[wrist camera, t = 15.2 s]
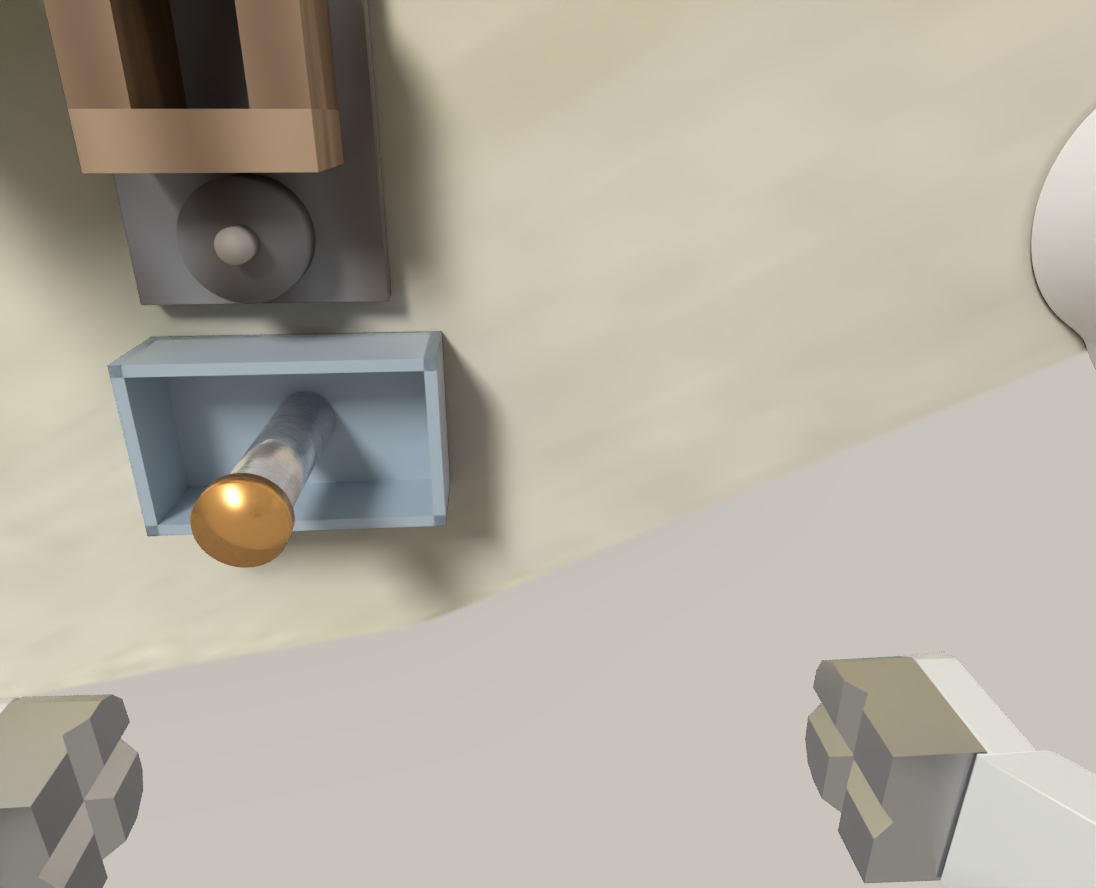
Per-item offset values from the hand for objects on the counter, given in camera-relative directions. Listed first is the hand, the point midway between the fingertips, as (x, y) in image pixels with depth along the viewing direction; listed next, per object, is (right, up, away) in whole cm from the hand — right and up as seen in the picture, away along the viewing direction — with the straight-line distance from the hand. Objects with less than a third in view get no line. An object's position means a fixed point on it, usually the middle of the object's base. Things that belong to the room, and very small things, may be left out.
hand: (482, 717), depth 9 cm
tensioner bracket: (-13, +18, +27) cm, 35 cm away
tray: (-12, +5, +33) cm, 36 cm away
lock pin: (-12, +5, +32) cm, 35 cm away
